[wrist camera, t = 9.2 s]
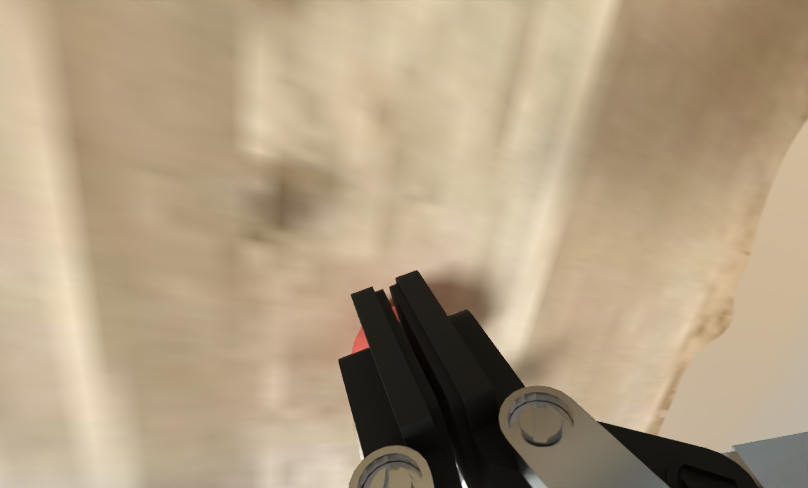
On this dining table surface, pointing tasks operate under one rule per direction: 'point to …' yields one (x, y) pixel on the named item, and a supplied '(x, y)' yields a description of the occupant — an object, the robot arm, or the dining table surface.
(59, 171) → the dining table surface
